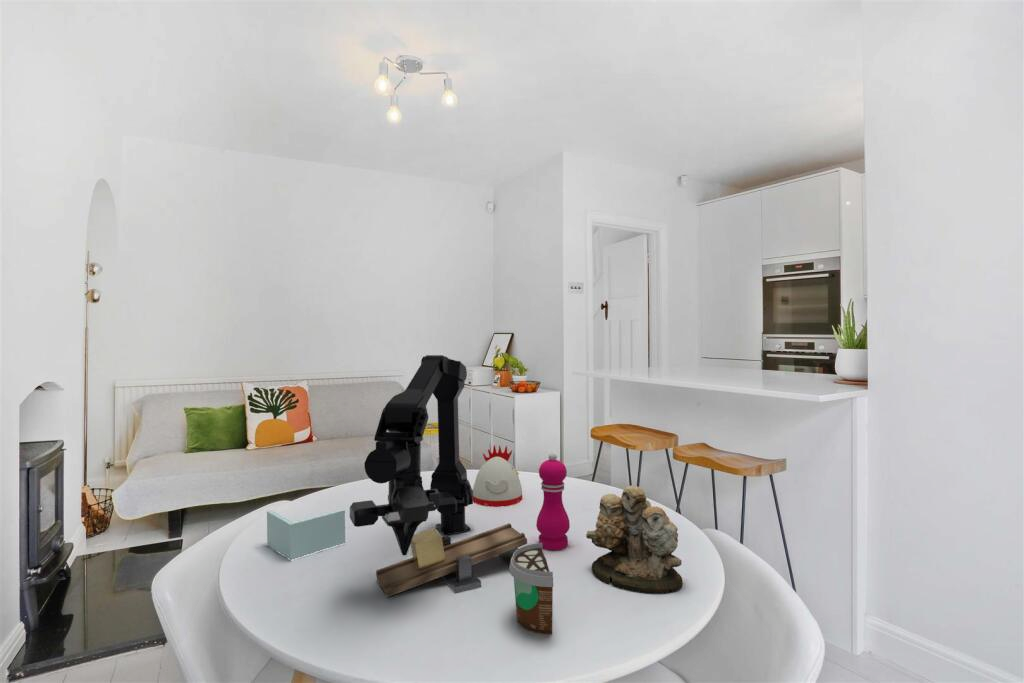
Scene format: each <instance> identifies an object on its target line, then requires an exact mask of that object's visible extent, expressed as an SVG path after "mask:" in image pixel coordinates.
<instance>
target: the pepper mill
mask: <svg viewBox="0 0 1024 683" xmlns="http://www.w3.org/2000/svg"><path fill="white" fill-rule="evenodd" d="M557 458H558V456H557V454H556V453H555V452H551V453H549V454H548V459H547V460H545V461H543V462H542V463H541V464H540V466H539V469H538V476H539V478H540V479H541V491H543V492H542V493H543V503H542V506H541V509H540V510H539V513H538V515H537V518H536V524H535V526H536V529H537V531H538V532H539V533H540V534H539V535H538V543H542V549H544V550H547V551H548V550H549V551H561V550H563V549H566V548H567V547H568V545H569V544H568V543H569V542H568V540H569V539H568V536H567V535H566V534H567V533H568V532H569V531H570V526H571V525H570V523H571V522H570V519H569V516H568V513H567V511H566V509H565V505H564V504H563V491H564V490H565V482H564V480H565V479H566V478H567V467H566V465H565V464H564V463H563V462H562V461H561V460H558V459H557Z"/></svg>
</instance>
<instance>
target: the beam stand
mask: <svg viewBox="0 0 1024 683" xmlns="http://www.w3.org/2000/svg"><path fill="white" fill-rule="evenodd" d="M442 542H443V547H444V546H446V545H449V544H452V537H451V536H450V535H444V536H443V535H442ZM519 548H520V547H518V548H515V549H512V550H510V551H507V552H504V553H502V554H499V555H497V556H498V557H499V558H501V560H503V561H504V562H505V563H506V565H508V566H510V562H511V558H512V556H513V553H514V552H515V551H516V550H517V549H519ZM441 578H442V579H443V578H444V579H443V580H444V582H446V584H447V583H448V584H449V585H448V584H447V585H448V586H449V587H450V589H451V590H452V589H453V590H452V591H453V592H454V593H455V594H457V593H461V592H465V591H469V590H474V589H478V588H482V581H481V580H480V578H478V576H477V575H476V574H475V573H474V572H473V571H472V565H471V557H470V556H469V555H467V556H462V557H457V558H456V571H454V572H452V573H449V574H447V575H444V576H441Z"/></svg>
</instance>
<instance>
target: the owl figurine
mask: <svg viewBox="0 0 1024 683" xmlns="http://www.w3.org/2000/svg"><path fill="white" fill-rule="evenodd" d="M596 519H597V520H596V522H595V528H596V529H595V530H588V531H586V535H585V537H586V539H590V540H591V544H593V545H594V546H595V547H597V548H601V549H602V548H603V549H607V550H608V552H606V553H604V554H603V555H600V556H599V557H597V559H596V560H594V561H593V562H592V563H591V571H592V574H593V576H595V578H596V579H597V580H599V581H601V582H602V583H603V582H604V583H606V584H607V585H609V584H610V583H611V585H612V586H613V587H614V588H617V589H622V590H625V591H629V592H634V593H640V594H641V593H642V594H652V595H657V594H658V595H660V594H663V595H664V594H667V593H670V591H671V592H672V593H673V592H677V591H678V590H680V589H681V588H682V587H683V584H684V583H683V578H682V576H681V574H680V573H679V572H678V571H677V570H676V569H675V568H678V567H680V566H682V559H681V558H679V557H677V556H675V555H673V554H672V553H674V552H675V551H676V549H677V548H678V541H679V539H678V537H679V533H678V526H677V525H675V524H674V522H672V521H671V520H670V517H669V516H668V515H667V513H666V511H665V510H664V509H663V508H661V507H658V506H652V504H651V502H650V501H649V500H647V494H646V492H645V491H644V490H643V489H642V488H641V487H639V486H638V485H637V486H636V485H634V484H633V485H629V486H626V487H624V488H623V490H622V494H621V497H620V496H618V495H616V494H615V493H606V494H605V495H602V496H601V498H600V501H599V512H598V515H597V518H596ZM610 578H611V579H610Z"/></svg>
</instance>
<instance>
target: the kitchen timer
mask: <svg viewBox="0 0 1024 683" xmlns="http://www.w3.org/2000/svg"><path fill="white" fill-rule="evenodd" d="M487 452H488V457H487V456H486V455H485V453H484V452H483V453H482V456H483V458H484V460H485V462H483V464H482V465H481V467H480V469H479V470H478V472H477V474H476V478H475V481H474V484H473V488H472V490H473V504H476V505H478V506H482V507H483V506H484V507H488V506H489V507H490V508H492V507H493V508H497V507H498V508H500V507H501V506H504V507H510V505H511V506H514V505H517V504H519V503H521V502H522V501H523V489H522V488H523V487H522V483H521V480H520V478H519V472H518V470H516V469H515V467H514V466H513V464H512V463H511V462H510V461H509V460H510V457H511V455H512V453H513V449H511V450H510V451H509V453H508V446H507V445H505V448H504V451H502V448H501V445H500V444H499V446H498V451H497V449H496V445H495V444H493V449H492V452H491V450H490V448H488V449H487ZM521 500H522V501H521ZM520 501H521V502H520Z"/></svg>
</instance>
